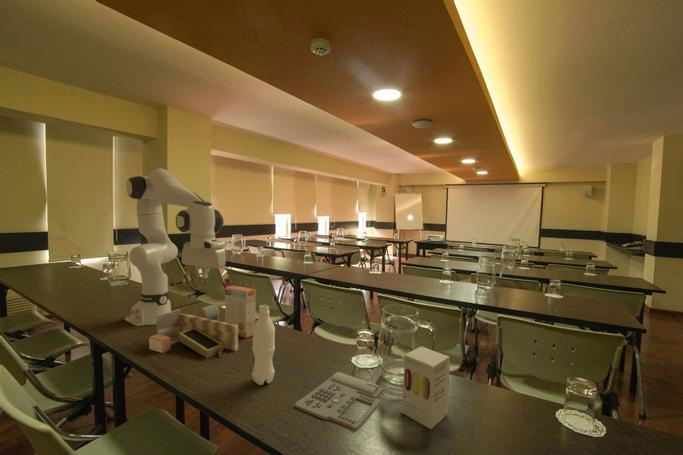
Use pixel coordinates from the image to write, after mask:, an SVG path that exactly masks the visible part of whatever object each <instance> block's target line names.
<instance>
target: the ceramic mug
mask: <svg viewBox="0 0 683 455" xmlns="http://www.w3.org/2000/svg"><path fill="white" fill-rule="evenodd" d="M197 315H198V316H197V317H202V318H207V319H211V320H216V321H220V320H219V318H220V315H221V314H220V308H219V306H218V305H217V304H216V303H215V304H214V303H213V304H210V305H207V306H203V307H201V308H199V309H198V311H197Z"/></svg>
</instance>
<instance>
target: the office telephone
mask: <svg viewBox="0 0 683 455" xmlns="http://www.w3.org/2000/svg"><path fill="white" fill-rule="evenodd" d="M383 391H384V388H383V387H382V386H381V385H378V384H375V383H373V382H369V381H366V380H364V379H361V378H359V377H356V376H354V375H353V376H352V375H349V374H347V373H344V372H341V371H337V372H335V373H334V374H333V375H332V376H330V377H329V378H328V379H326V380H325V381H324V382H323V383H321V384H319V385H318V386H317V387H316V388H314V389H313V390H312V391H310V392H309V393H308V394H306V395H305V396H304V397H302V398H300V399H299V400H297V401H296V402H295V403H294V407H295V408H296V409H298V410H301V411H303V412H306V413H308V414H310V415H313V416H315V417H318V418H319V419H322V420H324V421H325V420H326V421H327V420H328V421H329V420H330V421H333V422H335V423H338V424H340V425H343V426H345V427H347V428H350V429H351V430H353V431H358V430H359V429H360V428H361V427H362V426H363V425H364V423H365V422H366V421H367V420H368V419H369V418H370V417H371V416H372V414H373V413H374V412H375V411H376V410H377V408H379V407H380V404H381V400H379V399H377V398H378V397H379V396H380V395H381V394H382V392H383ZM355 401H359V402H362V403H365V404H367V405H370V407H369V408H367V410H366V411H365V412H364V413H363V414H362V415H361V417H359V418H358V420H354V419H353V418H349V417H348V416H345V415H343V414H344V413H345V411H347V409H349V408H350V407H351V406H352V404H354V403H355Z"/></svg>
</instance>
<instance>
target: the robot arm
mask: <svg viewBox="0 0 683 455" xmlns="http://www.w3.org/2000/svg"><path fill="white" fill-rule="evenodd" d="M125 184H126V185H125V190H126V193H127V195H128V196H129V197H130V198H131V199H134V200H136V216H137V218H136V219H137V225H138V231H139V233H140V234H141V235H142V236H144V237H145V238H146V241H147V243H142V244H140V245H137V246H135V247H132V248H131V250H130V251H129V255H128V258H129V262H130V263H131V264H132V265H133V266H134V267H136V268H137V270H138V272H139V274H140V277H141V293H139V294H138V296H139V301H138V302H137V303H135V304H134V305H133V306H132V307H131V308H130V315H127V316H126V317H125V318H124V321H126V322H128V323H130V324H132V325H134V326H136V327H141V326H153V325H156V316H158V315H162V314H165V313H168V312H171V311H172V305H171V300H170V299H169V298H170V291H169V276H168V274H166V272H165V273H164V271H163V269H162V264H166V263H169V262H171V261H173V260H174V259H176V257H177V256H178V254H179V253H178V251H179V249H178V246H176V244H174V242H172V241H171V239H170V237H169V236H168V233H167V230H166V226H165V225H166V224H165V218H164V212H163V207H162V203H164V204H167V205H171V206H180V207H184V208H185V207H186V209H183V210H180V211H179V212H178V213H177V214H176V216H175V226H176V229H177V230H179V231H180V232H181V233H183V234H190V241H186V242H185V243H184V244H183V248H182V253H181V263H182V265H185V266H194V267H195V270H196V271H195V272H196V274H197V278H200V279H208V278H209V272H210V271H211V269H222V268H225V266H226V263H227V262H226V251H225V249H224V248H225V247H226V242H224V241H222V240H220V239H219V238H216V234H217V233H218V232H219V231H220V230H221V229H222V228H223V225H224V218H223V215H222V214H221V212H220V211H218V209H215V207H214V204H213V203H212V202H208V201H205V200H204V199H202V198H201V196H199V195H198V194H197V193H195V192H194V191H192V190H191V189H189V188H187V187H186V186H185V185H183V184H182V183H181V182H180V181H179V180H178V178H177V177H176V176H175V175H174V174H173V173H171V172H170V171H168V170H167V169H165V168H155V169H153V170H152V171H151V172H150V173H149V175H148V176H140V175H138V176H137V175H136V176H131V177H129V178H128V179H127V180H126V183H125ZM202 268H203V270H204V271H203V270H202Z"/></svg>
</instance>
